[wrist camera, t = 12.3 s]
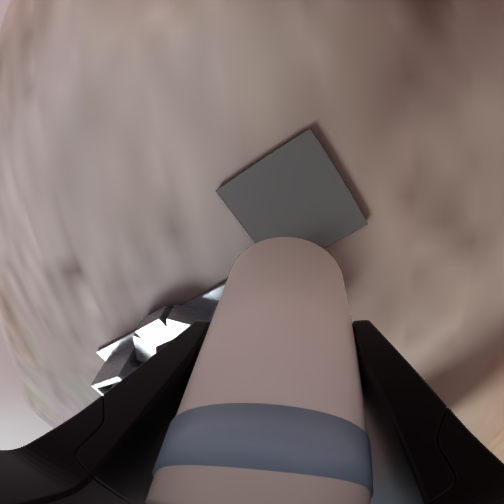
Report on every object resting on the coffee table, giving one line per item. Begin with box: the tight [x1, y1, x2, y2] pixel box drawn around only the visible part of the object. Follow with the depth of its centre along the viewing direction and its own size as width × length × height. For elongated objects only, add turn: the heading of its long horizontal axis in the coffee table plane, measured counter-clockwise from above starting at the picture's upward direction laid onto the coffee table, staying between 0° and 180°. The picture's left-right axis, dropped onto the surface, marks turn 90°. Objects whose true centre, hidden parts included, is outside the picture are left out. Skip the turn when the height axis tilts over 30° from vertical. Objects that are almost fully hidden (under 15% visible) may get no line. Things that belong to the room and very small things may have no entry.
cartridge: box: [145, 237, 374, 504], centre depth 6 cm, size 4×4×7 cm
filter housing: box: [91, 281, 226, 396], centre depth 21 cm, size 8×21×4 cm, turn 126°
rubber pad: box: [216, 128, 368, 248], centre depth 16 cm, size 6×6×1 cm
